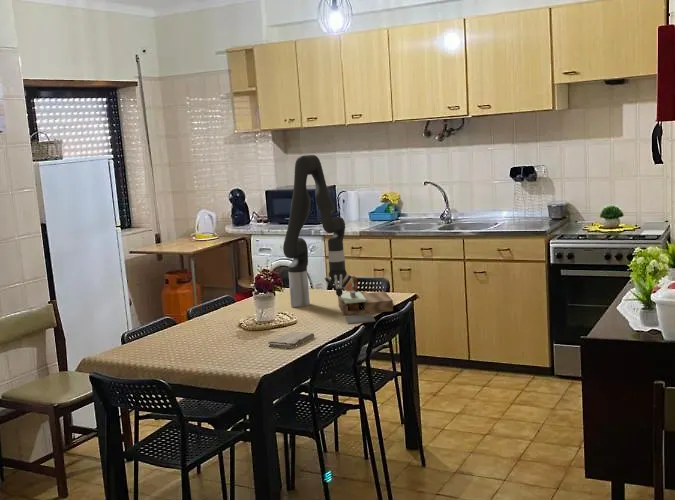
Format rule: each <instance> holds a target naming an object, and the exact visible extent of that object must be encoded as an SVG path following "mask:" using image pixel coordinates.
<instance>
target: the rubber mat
mask: <svg viewBox="0 0 675 500" xmlns="http://www.w3.org/2000/svg"><path fill="white" fill-rule="evenodd" d="M344 319H345V320H346V322H347V324H348V325H356V324H364V323H373V322H374V323H375V322H376V319H375V317H374V316H373V315H372V313H367V314H356V315H346V316H344Z"/></svg>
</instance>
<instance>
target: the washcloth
mask: <svg viewBox="0 0 675 500" xmlns="http://www.w3.org/2000/svg"><path fill="white" fill-rule="evenodd" d="M314 338H315V334H314V333H312V332H298V331H295V332H294V331H290V332H287V333H284V334H282V335H279V336H278V337H275V338H274V339H272V340H269V341H268V346H271V348H275V347H276V348H277V349H285V348H289V349H288V350H290V348H291V349H294V348H296V347H299V346H300V344H301V343H303V342H305V343H307V342H308V340H309V341H310V340H314ZM306 341H307V342H306ZM303 344H304V343H303ZM296 345H297V346H296ZM298 345H299V346H298ZM301 345H302V344H301ZM295 346H296V347H295ZM293 347H294V348H293ZM276 348H275V349H276Z"/></svg>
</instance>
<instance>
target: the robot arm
mask: <svg viewBox="0 0 675 500" xmlns="http://www.w3.org/2000/svg"><path fill="white" fill-rule="evenodd" d="M308 176H311V177H312V178H313V180H314V183H315V184H314V185H315V192H314V198H315V202H316V205H317V207H318V210H319V212H320V218H321V225H322V228H323V230H324V231H325V232H326V234H332V237H330V238H328V240H327V248H328V250H327V251H328V254H327V256H328V268H329V269H328V270H329V272H328V274H327V276H325V277H324V280H325V281H326V282H327V284H328V285H330V286H331V288H332V289H335V294H336V296H337V298H338V297H339V296H341V295H342V294H343V287H345V286H346V285H347V283H348V282H349V280H350V279H351V276H350V275H351V274H349V273H348V272H347V270H346V260H345V259H346V258H345V252H344V251H345V250H344V238H345V232H346V222H345V220H344V218H343V217H341V216H335V217H333V216H332V214H333V213H334V212H335V210H336V208H335V205H334V203H333V200H332V198H331V195H330V192H329V190H328V186H327V183H326V178H325V174H324V169H323V167H322V163H321V161H320V158H319V157H318V156H317V155H315V154H307V155H306V154H304V155H299V156H298V157H297V158H296V160H295V164H294V178H293V179H294V180H293V189H292V190H293V192H292V197H291V203H290V210H289V211H290V212H289V218H288V225H287V229H286V234H285V237H284V241H283V246H282V249H283V250H282V252H283V254H284V256H285V257H286V258H287V259H291V260H292V259H293V260H292V262H291V263H290V264H288V266H287V270H288V273H287V274H288V280H289V281H288V282H289V296H290V297H289V298H290V307H292V308H302V307H306V306H310V304H311V303H310V302H311V301H310V292H309V291H310V288H309V278H308V277H309V276H308V265H309V248H308V243H307V241H306V240H305V239H304V238H302V237H300V233H301V231H302V229H303V227H304V226H305V224H306V222H307V220H308V218H309V216H310V211H311V203H312V202H311V197H310V195H309V192H308V188H307V182H308V181H307V180H308ZM345 276H346V280H345V281H344V283H343V284H342V280H343V279H344V278H345ZM331 280H332V281H334V283H333V282H332V281H331Z"/></svg>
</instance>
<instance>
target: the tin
mask: <svg viewBox="0 0 675 500" xmlns="http://www.w3.org/2000/svg"><path fill="white" fill-rule="evenodd" d="M349 275H350V276H351V279H350V280H349V282H348V283H347V285H346V286H345V287H343V288H342V290H344V291H347V292H348V293H350V291H355V292H357V290H358V278H357V277H356V276H355V275H352V274H349ZM345 280H346V276H345V278H344V279H343V280H342V284H343V283H344V281H345Z"/></svg>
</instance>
